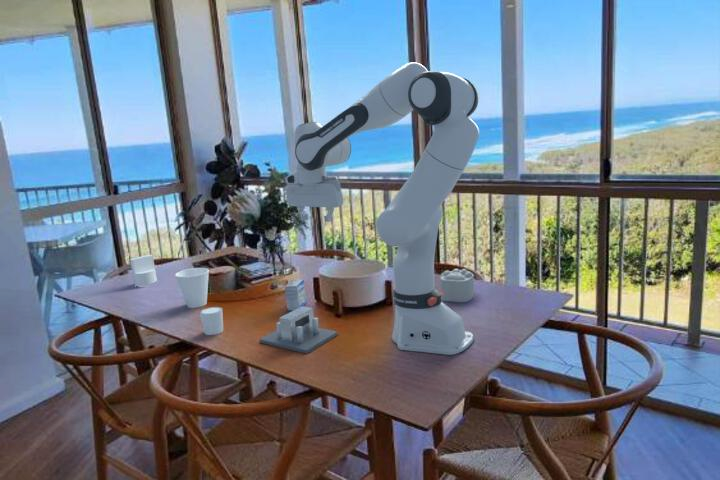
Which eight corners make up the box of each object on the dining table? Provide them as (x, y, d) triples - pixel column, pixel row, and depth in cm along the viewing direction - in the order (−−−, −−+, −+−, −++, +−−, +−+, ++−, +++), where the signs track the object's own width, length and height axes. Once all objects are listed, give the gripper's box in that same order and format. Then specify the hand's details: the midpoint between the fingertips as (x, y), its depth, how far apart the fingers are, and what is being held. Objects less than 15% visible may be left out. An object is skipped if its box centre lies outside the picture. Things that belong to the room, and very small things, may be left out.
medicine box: (299, 310, 175) (297, 286, 173) (287, 310, 176) (284, 286, 174) (306, 302, 183) (304, 279, 181) (294, 302, 184) (292, 279, 182)
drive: (315, 330, 155) (312, 308, 153) (292, 343, 147) (290, 319, 145) (304, 328, 157) (302, 306, 155) (281, 340, 149) (279, 317, 148)
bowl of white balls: (438, 300, 175) (437, 275, 173) (448, 288, 186) (447, 265, 184) (469, 302, 170) (468, 277, 168) (477, 290, 182) (477, 266, 180)
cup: (208, 297, 198) (203, 265, 195) (218, 304, 188) (213, 271, 186) (176, 304, 192) (171, 272, 189) (185, 313, 182) (179, 279, 179)
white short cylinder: (206, 327, 166) (203, 307, 165) (227, 326, 166) (224, 305, 165) (199, 336, 160) (196, 315, 158) (221, 335, 159) (218, 313, 158)
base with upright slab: (152, 279, 229) (147, 253, 226) (160, 283, 222) (156, 256, 220) (131, 285, 223) (126, 258, 220) (139, 288, 216) (134, 261, 214)
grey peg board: (337, 334, 153) (336, 317, 151) (307, 353, 141) (305, 334, 140) (291, 325, 163) (289, 308, 162) (259, 342, 152) (257, 324, 150)
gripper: (345, 175, 157) (349, 220, 160) (294, 175, 169) (298, 217, 172) (332, 177, 152) (336, 224, 155) (281, 178, 164) (285, 221, 167)
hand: (316, 220), depth 163 cm, fingers open, 8 cm apart
